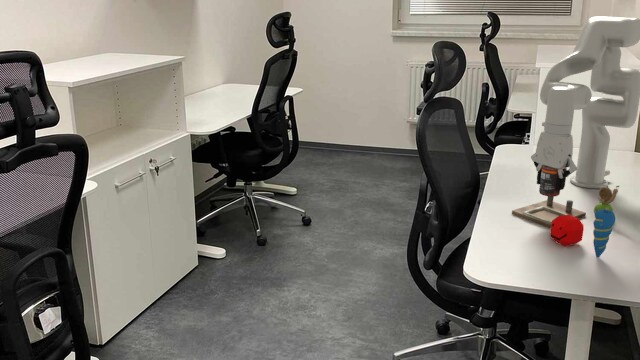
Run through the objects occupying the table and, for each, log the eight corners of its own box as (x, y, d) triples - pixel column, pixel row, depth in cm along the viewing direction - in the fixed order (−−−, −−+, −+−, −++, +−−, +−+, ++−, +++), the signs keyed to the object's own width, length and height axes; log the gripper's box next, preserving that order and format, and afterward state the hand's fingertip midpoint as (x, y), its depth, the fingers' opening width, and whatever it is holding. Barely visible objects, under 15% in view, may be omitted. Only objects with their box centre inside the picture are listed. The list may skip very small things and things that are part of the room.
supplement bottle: (557, 191, 190) (562, 156, 187) (560, 198, 185) (565, 161, 181) (537, 190, 191) (541, 155, 188) (540, 196, 186) (544, 160, 182)
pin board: (547, 203, 205) (549, 189, 203) (585, 216, 194) (587, 202, 192) (511, 213, 195) (513, 199, 194) (549, 228, 184) (551, 213, 183)
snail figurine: (606, 224, 188) (612, 187, 184) (588, 217, 193) (594, 181, 189) (618, 221, 190) (624, 184, 186) (600, 214, 195) (606, 178, 192)
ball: (543, 239, 176) (547, 215, 174) (564, 235, 180) (568, 210, 177) (564, 250, 170) (568, 225, 167) (586, 245, 173) (590, 220, 170)
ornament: (584, 253, 168) (592, 202, 163) (602, 253, 168) (610, 201, 163) (593, 262, 163) (602, 209, 158) (612, 261, 163) (621, 208, 158)
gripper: (525, 124, 187) (518, 181, 192) (575, 136, 173) (567, 196, 179) (541, 121, 191) (534, 177, 196) (591, 133, 177) (582, 192, 183)
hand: (550, 186), depth 187 cm, fingers closed on supplement bottle, 6 cm apart
